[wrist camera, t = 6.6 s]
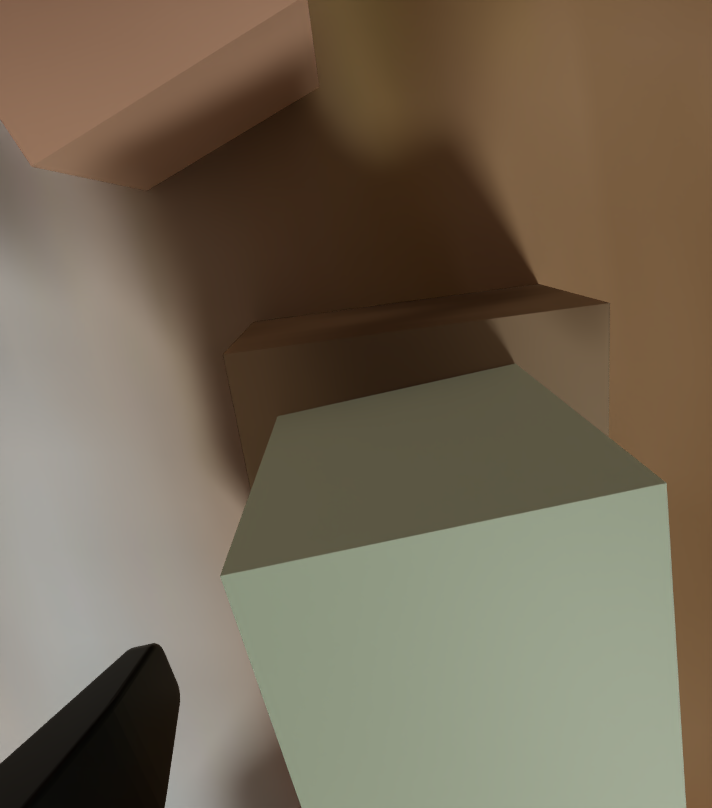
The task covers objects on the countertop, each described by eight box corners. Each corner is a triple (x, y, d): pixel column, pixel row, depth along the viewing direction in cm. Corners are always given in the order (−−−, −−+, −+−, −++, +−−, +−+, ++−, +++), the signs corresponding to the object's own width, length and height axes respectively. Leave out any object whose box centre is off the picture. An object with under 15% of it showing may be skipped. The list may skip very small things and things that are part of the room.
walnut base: (534, 283, 14) (609, 302, 10) (542, 530, 16) (607, 626, 12) (255, 320, 14) (222, 354, 10) (299, 561, 16) (287, 666, 12)
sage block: (544, 569, 11) (685, 810, 7) (333, 612, 12) (325, 876, 7) (516, 363, 10) (667, 483, 5) (277, 416, 10) (219, 576, 6)
